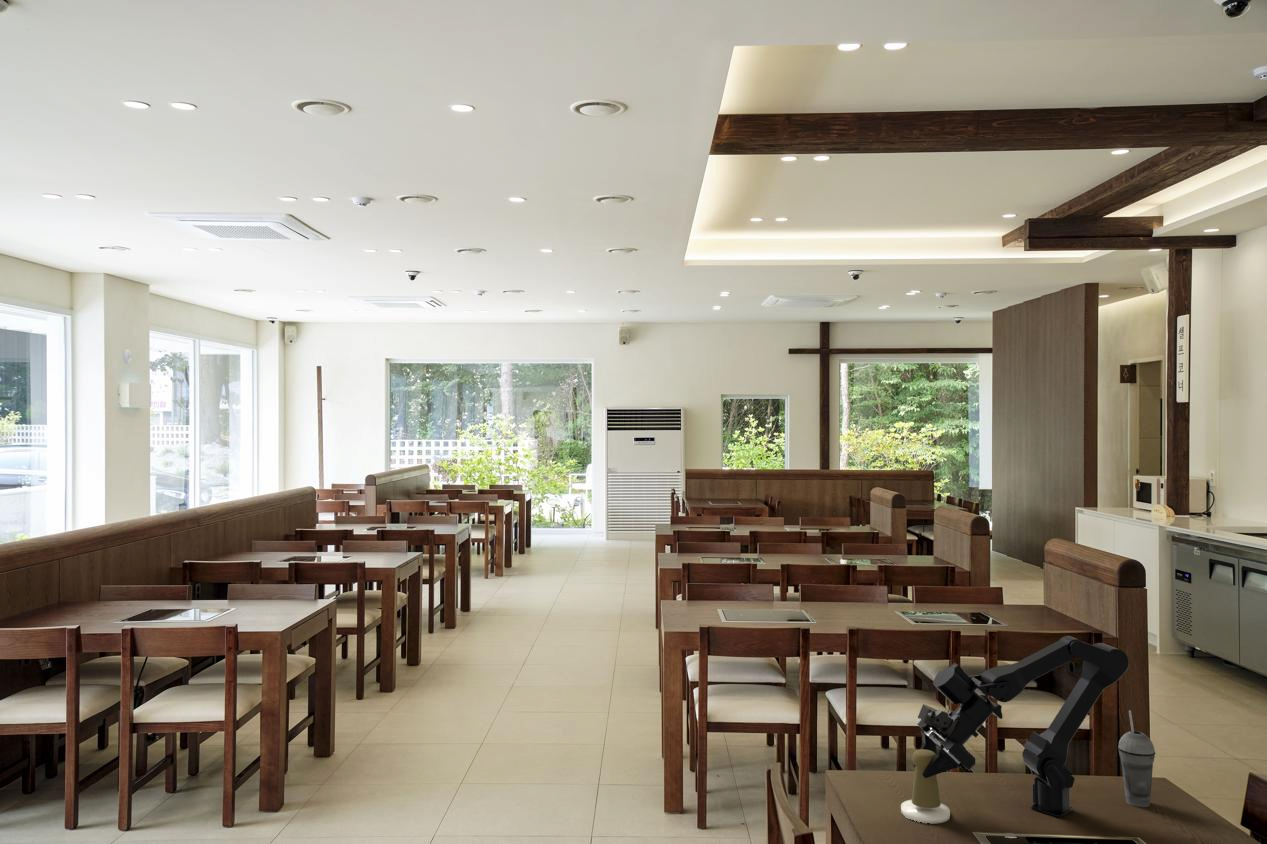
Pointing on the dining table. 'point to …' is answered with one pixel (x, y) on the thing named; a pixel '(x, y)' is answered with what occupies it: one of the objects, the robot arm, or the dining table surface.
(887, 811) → the dining table surface
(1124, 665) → the robot arm
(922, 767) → the cork
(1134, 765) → the beverage cup
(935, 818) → the coaster
